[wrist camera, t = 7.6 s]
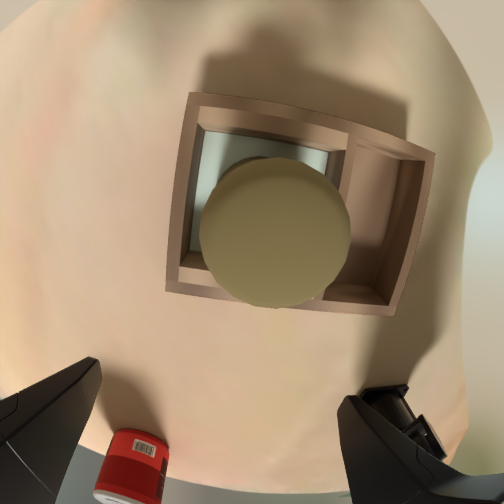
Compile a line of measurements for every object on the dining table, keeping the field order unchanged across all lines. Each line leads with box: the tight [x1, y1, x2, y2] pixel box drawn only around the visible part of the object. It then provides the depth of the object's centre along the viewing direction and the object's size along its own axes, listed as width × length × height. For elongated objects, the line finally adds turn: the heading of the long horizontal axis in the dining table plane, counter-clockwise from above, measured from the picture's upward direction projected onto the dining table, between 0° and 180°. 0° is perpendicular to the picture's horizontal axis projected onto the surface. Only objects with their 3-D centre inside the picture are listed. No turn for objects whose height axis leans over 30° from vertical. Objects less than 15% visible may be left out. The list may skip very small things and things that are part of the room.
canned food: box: [93, 429, 169, 504], centre depth 22 cm, size 8×8×11 cm
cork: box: [199, 156, 351, 309], centre depth 13 cm, size 6×6×11 cm
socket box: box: [165, 92, 435, 316], centre depth 17 cm, size 16×12×4 cm
